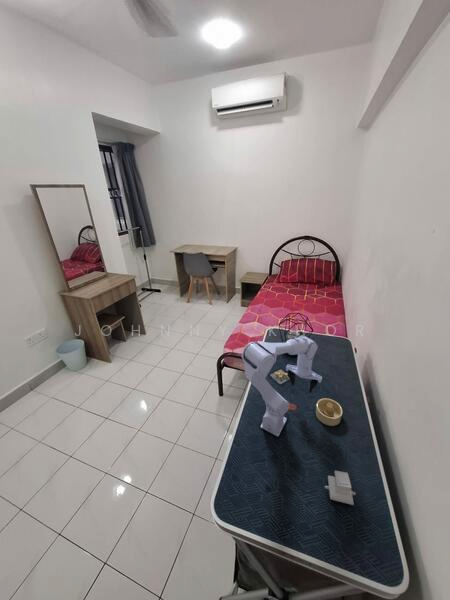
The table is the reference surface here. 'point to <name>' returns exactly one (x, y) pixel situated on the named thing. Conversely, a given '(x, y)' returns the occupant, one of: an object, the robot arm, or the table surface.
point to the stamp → (340, 488)
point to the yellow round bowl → (325, 419)
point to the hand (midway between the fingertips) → (301, 387)
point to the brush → (328, 410)
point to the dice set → (280, 376)
